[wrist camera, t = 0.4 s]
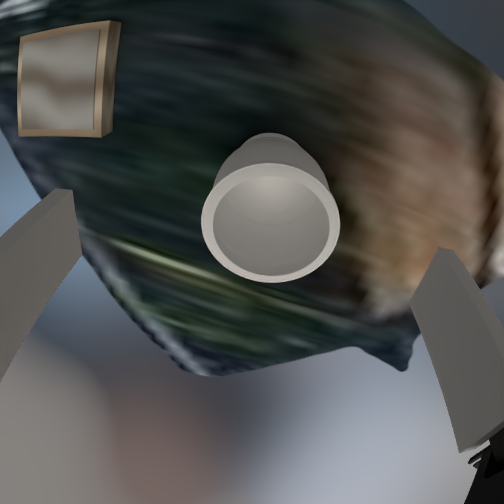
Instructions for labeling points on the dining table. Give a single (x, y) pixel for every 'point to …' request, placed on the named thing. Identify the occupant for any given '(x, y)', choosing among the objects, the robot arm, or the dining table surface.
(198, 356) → the dining table surface
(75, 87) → the stand
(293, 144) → the jar
